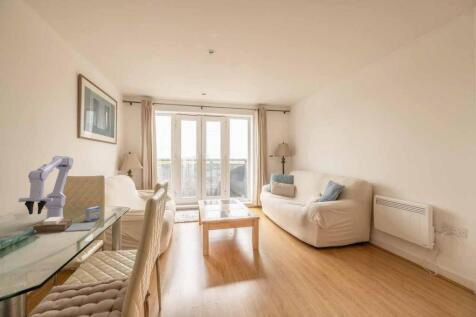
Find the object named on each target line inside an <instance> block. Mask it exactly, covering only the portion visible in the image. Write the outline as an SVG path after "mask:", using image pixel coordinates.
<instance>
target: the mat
mask: <svg viewBox="0 0 476 317" xmlns="http://www.w3.org/2000/svg"><path fill="white" fill-rule="evenodd" d="M96 224H97V222H94V221H93V222H92V221H91V222H76V223H74V222H73V223H72V225H71V226H70V227H69V228H68V229H66V230H65V231H64V232H65V233H66V232H67V233H68V232H83V231H85V230H86V231H92V229H93V228H94V226H95V225H96Z"/></svg>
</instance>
